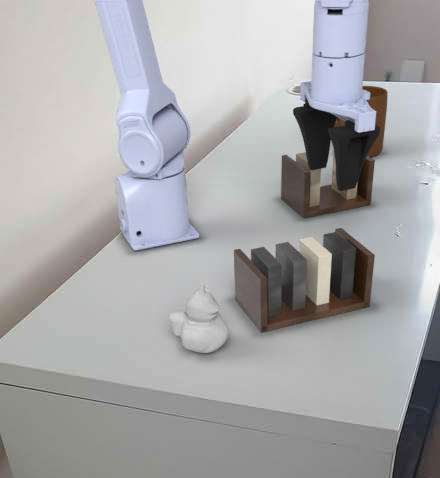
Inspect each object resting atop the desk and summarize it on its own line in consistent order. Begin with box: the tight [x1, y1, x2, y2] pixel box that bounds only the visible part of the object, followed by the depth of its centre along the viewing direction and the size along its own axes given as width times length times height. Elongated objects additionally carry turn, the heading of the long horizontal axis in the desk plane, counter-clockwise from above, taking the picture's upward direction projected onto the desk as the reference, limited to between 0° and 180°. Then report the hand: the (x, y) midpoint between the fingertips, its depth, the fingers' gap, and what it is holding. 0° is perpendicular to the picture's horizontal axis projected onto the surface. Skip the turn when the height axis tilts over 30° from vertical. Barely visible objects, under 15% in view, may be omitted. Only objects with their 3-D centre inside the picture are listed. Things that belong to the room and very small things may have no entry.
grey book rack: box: [233, 227, 376, 333], centre depth 82 cm, size 14×8×7 cm, turn 110°
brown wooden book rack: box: [280, 151, 376, 219], centre depth 104 cm, size 11×8×7 cm
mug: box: [334, 85, 389, 158], centre depth 119 cm, size 12×8×9 cm, turn 75°
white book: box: [298, 236, 332, 305], centre depth 82 cm, size 2×5×6 cm, turn 20°
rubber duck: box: [168, 281, 230, 354], centre depth 75 cm, size 5×7×8 cm
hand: (331, 178), depth 87 cm, fingers open, 7 cm apart
